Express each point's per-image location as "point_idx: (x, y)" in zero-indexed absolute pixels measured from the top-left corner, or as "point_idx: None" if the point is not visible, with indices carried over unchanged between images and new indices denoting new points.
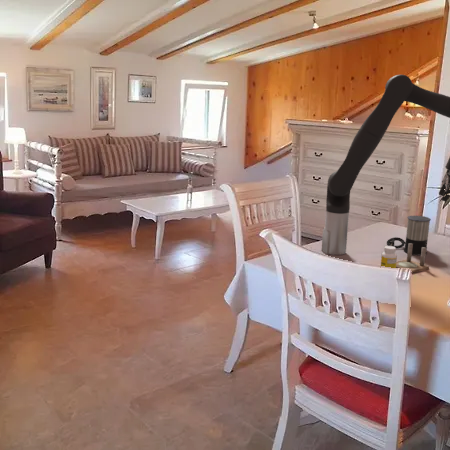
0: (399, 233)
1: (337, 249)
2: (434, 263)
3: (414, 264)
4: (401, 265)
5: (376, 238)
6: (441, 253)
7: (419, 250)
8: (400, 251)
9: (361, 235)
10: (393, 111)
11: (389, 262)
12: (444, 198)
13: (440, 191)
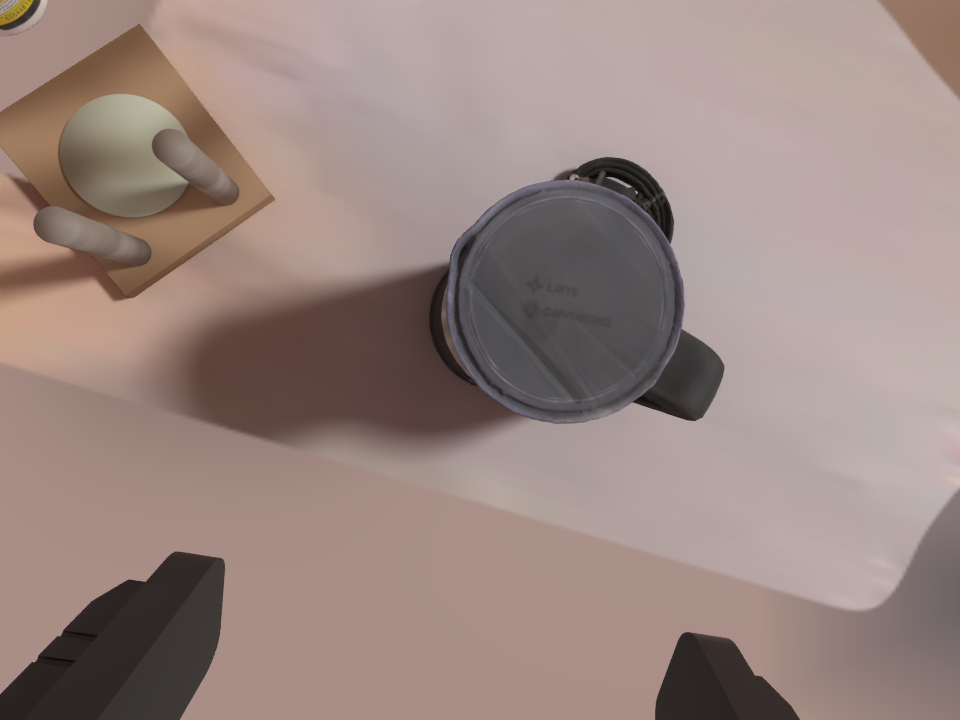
0: (903, 342)
1: None
2: (265, 371)
3: (139, 203)
4: (102, 104)
5: (778, 156)
6: (494, 482)
7: (436, 323)
8: None
9: (835, 74)
10: None
11: None
12: (83, 622)
13: (721, 702)
